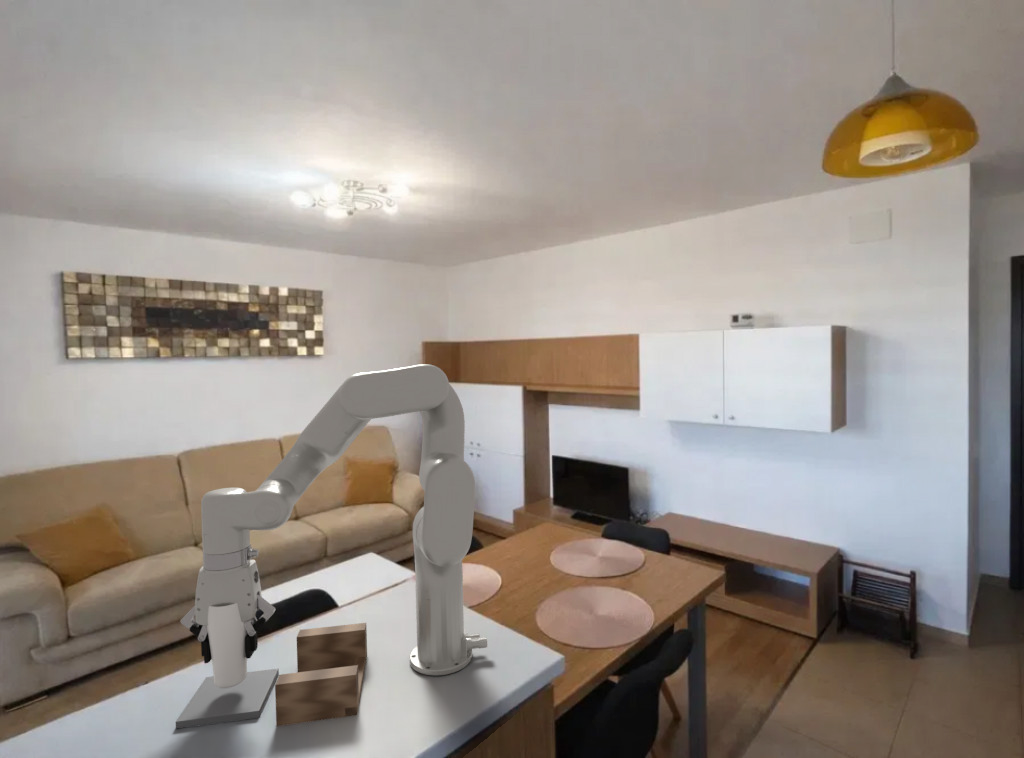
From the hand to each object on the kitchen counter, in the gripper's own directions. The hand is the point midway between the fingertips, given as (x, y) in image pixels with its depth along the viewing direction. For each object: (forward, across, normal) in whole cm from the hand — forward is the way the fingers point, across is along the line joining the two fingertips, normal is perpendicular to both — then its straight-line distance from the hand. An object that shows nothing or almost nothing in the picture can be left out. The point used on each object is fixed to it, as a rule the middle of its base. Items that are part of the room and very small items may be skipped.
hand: (230, 655), depth 95 cm
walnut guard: (+8, -16, 0) cm, 18 cm away
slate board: (+8, 0, 0) cm, 8 cm away
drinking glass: (+5, 0, 0) cm, 5 cm away
